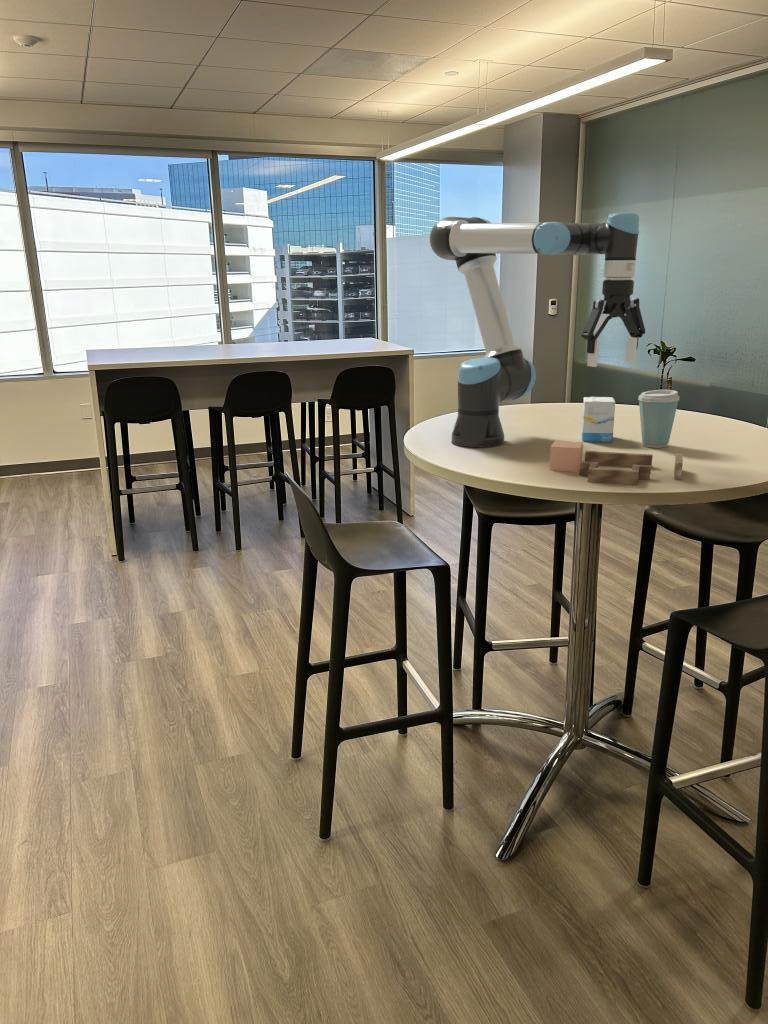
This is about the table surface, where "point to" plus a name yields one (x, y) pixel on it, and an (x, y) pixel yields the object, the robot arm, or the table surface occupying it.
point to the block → (566, 456)
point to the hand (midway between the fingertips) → (611, 364)
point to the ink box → (598, 419)
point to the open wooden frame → (637, 461)
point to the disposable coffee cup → (657, 416)
